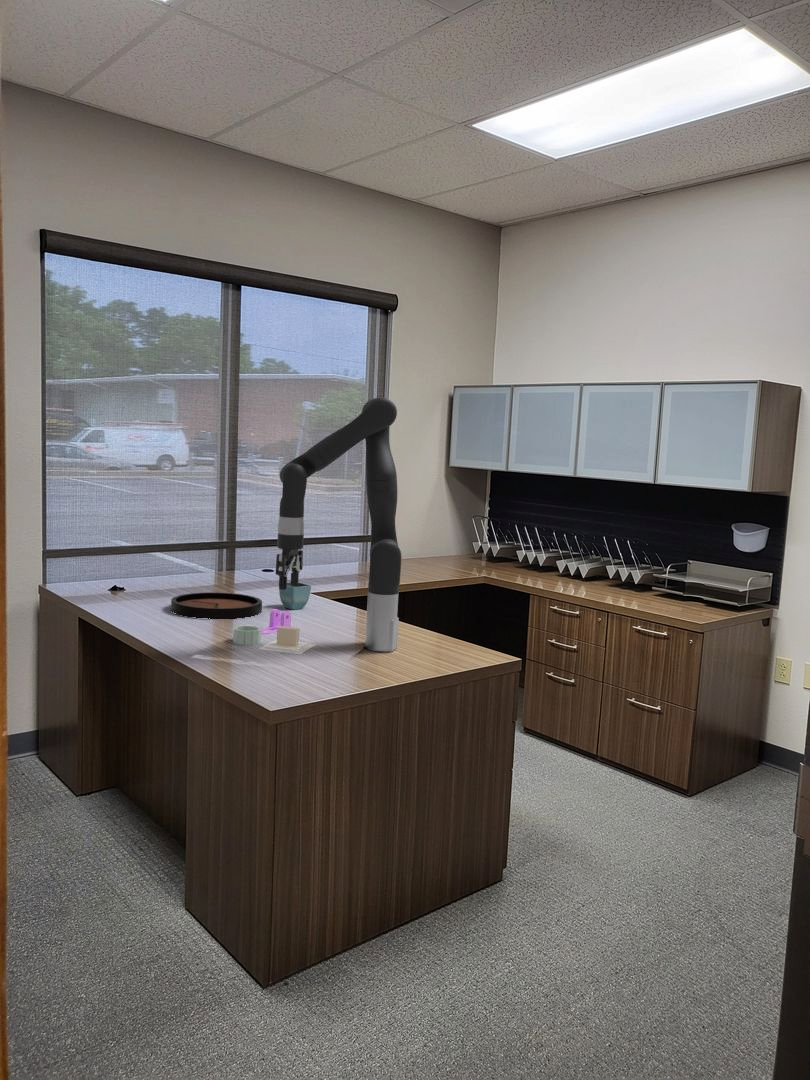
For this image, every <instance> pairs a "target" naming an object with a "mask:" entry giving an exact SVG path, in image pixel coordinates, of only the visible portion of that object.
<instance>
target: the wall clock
mask: <svg viewBox="0 0 810 1080" xmlns="http://www.w3.org/2000/svg"><path fill="white" fill-rule="evenodd" d="M170 600H171V601H170V612H171V611H172V612H171V613H173V612H174V613H176V614H175V615H177V614H178V615H177V616H180V615H182V616H181V617H184V616H187V617H186V618H189V617H196V618H195V619H197V618H208V619H207V620H210V619H229V620H238V619H237V618H242V619H246V618H245V617H249V618H252V617H251V616H254V617H256V616H255V615H257V616H259V615H260V614H259V613H262V611H263V600H262V599H260V598H258V597H255V596H252V595H248V594H242V593H233V592H212V591H211V592H207V591H206V592H193V593H192V592H191V593H185V594H179V595H177V596H173V597H172V598H171V599H170ZM174 613H173V614H174ZM258 614H259V615H258ZM209 618H210V619H209Z"/></svg>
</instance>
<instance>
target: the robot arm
mask: <svg viewBox="0 0 810 1080" xmlns="http://www.w3.org/2000/svg"><path fill="white" fill-rule="evenodd" d="M397 416H398V409H397V407H396V404H395V403H394V402H393V401H392V399H389V398H387V397H382V396H380V397H375V398H372V399H369V400H367V401H366V402H365V404H364V405H363V407H362V409H361V412H360V414H359V415H358V416H357V417H355V418H354V419H353V420H351V421H350V422H349V423H347V424H346V425H344V426H343V427H340V428H339V429H337V430H336V431H334V432H332V433H331V434H329V435H327V436H326V437H324V438H323V439H321V440H319V441H318V442H317V443H316V444H314V445H312V446H311V447H310V448H309V449H308V450H307V451H305V452H303V453H302V454H300V455H299V456H297V457H295V458H294V459H292V460H291V461H288V462H287V463H286V464H285V465H284V466H282V467H281V469H280V472H279V479H280V482H281V483H282V489H281V490H282V492H281V493H282V494H281V495H282V497H281V498H280V501H279V514H278V515H279V518H278V525H277V544H276V545H277V548H278V549H280V550H281V554H280V553H276V560H275V562H276V564H275V575H276V576H278V577H279V579H278V590H279V589H281V590H286V589H287V583H288V576H289V571H291V572H290V583H291V585H293V586H297V585H298V582H300V581H299V580H300V579H299V578H300V577H299V575H300V573H301V571H302V570H303V568H304V567H303V566H304V565H303V563H304V562H303V561H304V559H303V558H304V552H303V550H302V549H304V541H305V540H304V539H305V520H304V517H305V516H304V515H305V497H306V490H307V483H308V482H307V481H308V478H309V477H311V476H312V475H314V474H315V473H317V472H320V471H322V470H323V469H325V468H326V467H328V466H330V464H332V463H333V462H335V461H337V460H338V459H339V458H340V457H342V456H343V455H344V454H346V453H347V452H348V451H350V450H351V449H352V448H353V447H354V446H357V444H359V443H360V442H361V441H363V440H365V481H366V482H365V486H366V498H367V504H368V505H367V506H368V512H369V516H370V525H371V526H370V529H371V531H370V548H369V558H370V559H369V575H368V583H367V584H368V586H367V602H366V603H367V606H366V621H365V623H366V625H365V638H364V639H365V640H364V645H365V646H364V648H365V649H366V650H370V651H372V652H373V651H375V652H394V651H395V650H396V649H397V648H398V636H399V623H400V622H399V619H400V617H398V609H399V608H398V606H399V591H400V584H401V570H402V552H401V549H400V547H399V543H398V537H397V529H396V528H397V527H396V515H397V506H398V476H397V469H396V464H395V461H394V457H393V454H392V451H391V445H390V443H391V442H390V427H391V426H392V425H393V423H394V422H395V421H396V419H397Z"/></svg>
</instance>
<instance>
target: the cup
mask: <svg viewBox="0 0 810 1080" xmlns="http://www.w3.org/2000/svg"><path fill="white" fill-rule="evenodd" d="M261 629H262V628H261V627H259V626H257V625H237V626H234V627H233V631H232V632H233V633H232V635H233V636H232V642H233V644H236V645H241V646H253V645H259V644H261V642H262V634H261Z"/></svg>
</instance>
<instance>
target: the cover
mask: <svg viewBox="0 0 810 1080" xmlns="http://www.w3.org/2000/svg"><path fill="white" fill-rule="evenodd" d="M275 640H276V641H274V640H273V641H274V642H272V641H271V642H272V643H270V642H269V643H270V644H268V643H267V644H268V645H266V644H265V645H266V646H265V648H267V649H275V650H283V651H291V652H299V651H300V650H302V649H304V648H305V647H307V646H309V645H310V644H311V643H310V642H305V641H300V627H293V626H290V627H285V626H279V627H277V632H276V639H275Z"/></svg>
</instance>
